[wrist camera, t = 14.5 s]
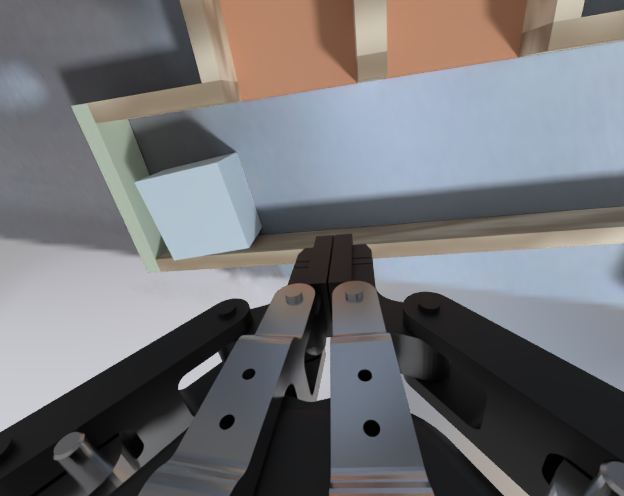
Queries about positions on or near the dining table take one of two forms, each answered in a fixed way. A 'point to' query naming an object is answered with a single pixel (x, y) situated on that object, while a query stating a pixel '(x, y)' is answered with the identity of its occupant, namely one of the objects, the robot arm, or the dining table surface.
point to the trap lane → (343, 71)
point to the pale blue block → (202, 207)
